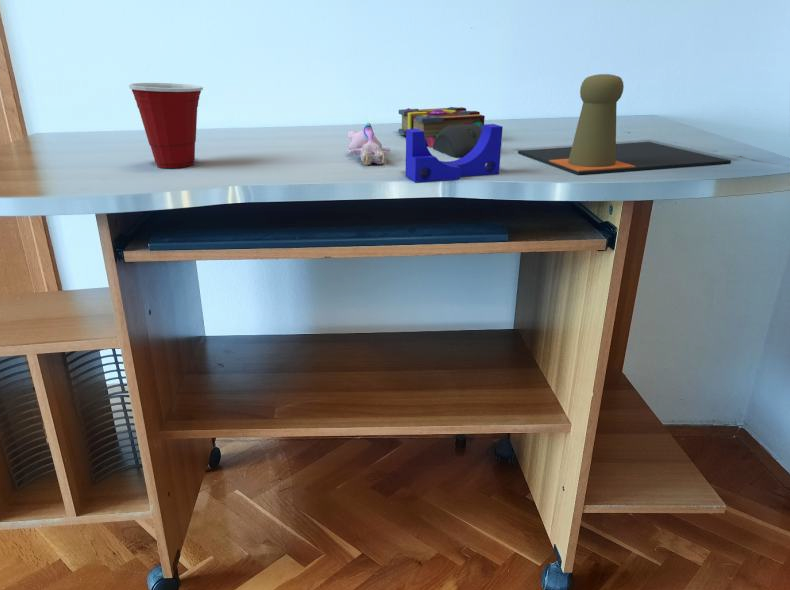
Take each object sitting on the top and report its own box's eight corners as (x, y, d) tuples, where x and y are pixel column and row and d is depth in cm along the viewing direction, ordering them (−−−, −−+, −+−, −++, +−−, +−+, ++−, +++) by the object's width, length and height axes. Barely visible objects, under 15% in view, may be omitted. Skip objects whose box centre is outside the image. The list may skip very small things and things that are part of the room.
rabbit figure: (396, 174, 93) (376, 142, 106) (398, 133, 90) (377, 105, 102) (354, 177, 93) (338, 145, 105) (354, 136, 89) (338, 107, 101)
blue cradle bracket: (415, 182, 82) (416, 133, 79) (405, 175, 86) (406, 129, 83) (503, 175, 84) (507, 128, 81) (490, 169, 88) (493, 123, 85)
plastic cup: (208, 169, 95) (198, 83, 90) (135, 173, 95) (120, 86, 90) (215, 157, 105) (206, 78, 100) (148, 160, 105) (136, 81, 99)
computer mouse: (456, 158, 96) (457, 130, 95) (430, 147, 106) (431, 122, 105) (495, 155, 97) (497, 127, 96) (465, 144, 107) (467, 119, 106)
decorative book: (455, 131, 122) (456, 103, 120) (487, 143, 108) (489, 112, 106) (397, 134, 121) (398, 106, 119) (422, 147, 107) (423, 115, 104)
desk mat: (647, 144, 102) (648, 140, 101) (730, 163, 86) (731, 158, 85) (517, 153, 99) (518, 149, 98) (578, 175, 83) (578, 170, 82)
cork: (559, 163, 87) (569, 75, 82) (581, 157, 90) (592, 72, 85) (602, 168, 83) (615, 76, 78) (623, 161, 86) (637, 73, 81)
